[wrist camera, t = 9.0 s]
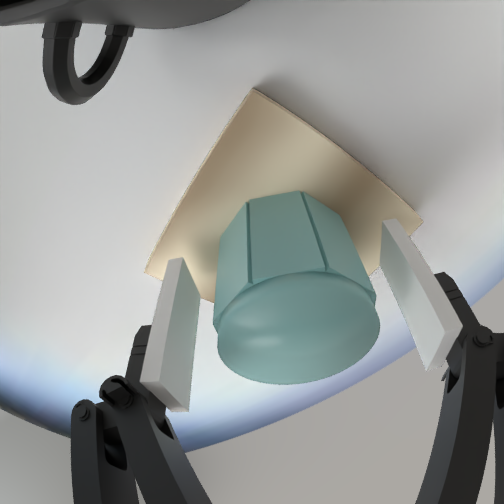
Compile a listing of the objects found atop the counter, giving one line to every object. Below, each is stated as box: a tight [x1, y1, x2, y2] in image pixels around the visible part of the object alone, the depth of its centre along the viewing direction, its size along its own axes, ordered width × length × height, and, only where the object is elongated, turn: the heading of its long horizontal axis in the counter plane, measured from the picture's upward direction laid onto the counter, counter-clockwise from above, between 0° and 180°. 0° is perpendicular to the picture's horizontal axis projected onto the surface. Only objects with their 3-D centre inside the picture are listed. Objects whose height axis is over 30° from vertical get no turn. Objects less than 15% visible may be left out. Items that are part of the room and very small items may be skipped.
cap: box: [213, 191, 380, 385], centre depth 13 cm, size 6×6×6 cm
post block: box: [144, 88, 423, 303], centre depth 14 cm, size 11×11×5 cm
